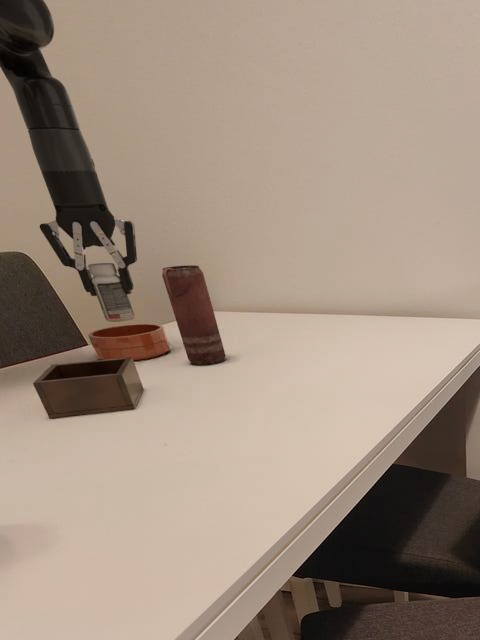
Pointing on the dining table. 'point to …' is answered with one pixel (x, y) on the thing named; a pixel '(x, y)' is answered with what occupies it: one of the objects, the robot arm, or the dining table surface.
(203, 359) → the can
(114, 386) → the holder
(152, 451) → the dining table surface
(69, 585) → the dining table surface
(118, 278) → the pill bottle
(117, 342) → the bowl
